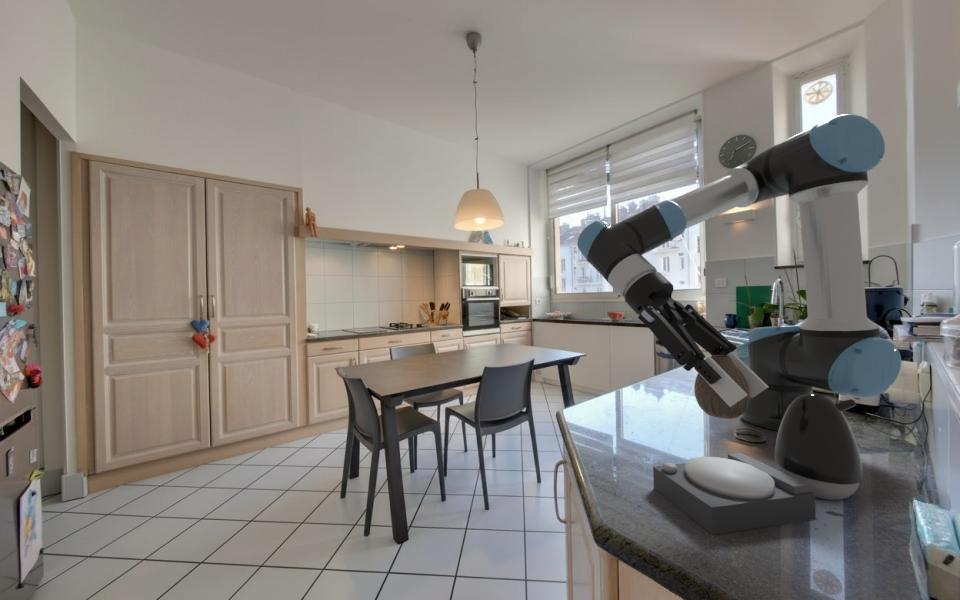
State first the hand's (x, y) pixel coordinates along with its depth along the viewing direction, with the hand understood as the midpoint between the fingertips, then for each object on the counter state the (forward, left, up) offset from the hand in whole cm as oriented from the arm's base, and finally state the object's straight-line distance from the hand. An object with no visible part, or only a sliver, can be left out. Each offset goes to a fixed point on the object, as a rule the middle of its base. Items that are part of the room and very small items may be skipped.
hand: (749, 396), depth 52 cm
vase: (+2, -3, -4) cm, 5 cm away
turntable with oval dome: (+1, -3, -17) cm, 17 cm away
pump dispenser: (-15, -3, -17) cm, 23 cm away
